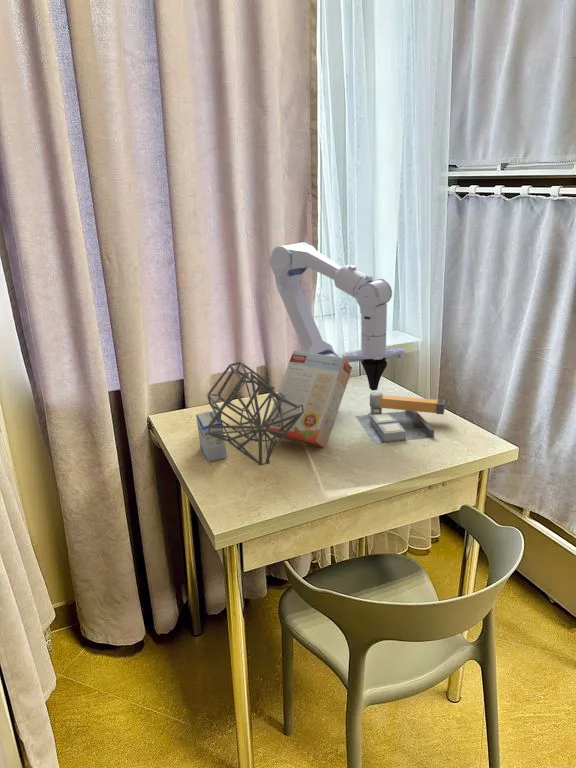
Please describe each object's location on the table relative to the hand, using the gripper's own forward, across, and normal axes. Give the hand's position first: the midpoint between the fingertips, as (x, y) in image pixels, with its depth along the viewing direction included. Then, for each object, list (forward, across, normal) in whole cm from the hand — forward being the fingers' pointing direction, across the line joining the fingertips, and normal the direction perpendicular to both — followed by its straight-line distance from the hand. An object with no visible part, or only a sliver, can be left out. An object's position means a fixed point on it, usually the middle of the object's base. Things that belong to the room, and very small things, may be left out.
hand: (373, 388), depth 131 cm
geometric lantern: (+2, -32, +14) cm, 35 cm away
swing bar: (+6, +8, 0) cm, 10 cm away
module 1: (+9, +2, -2) cm, 9 cm away
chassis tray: (+10, +4, -3) cm, 11 cm away
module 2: (+9, +2, -8) cm, 12 cm away
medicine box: (+10, -39, -5) cm, 41 cm away
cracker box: (+8, -21, -6) cm, 23 cm away
